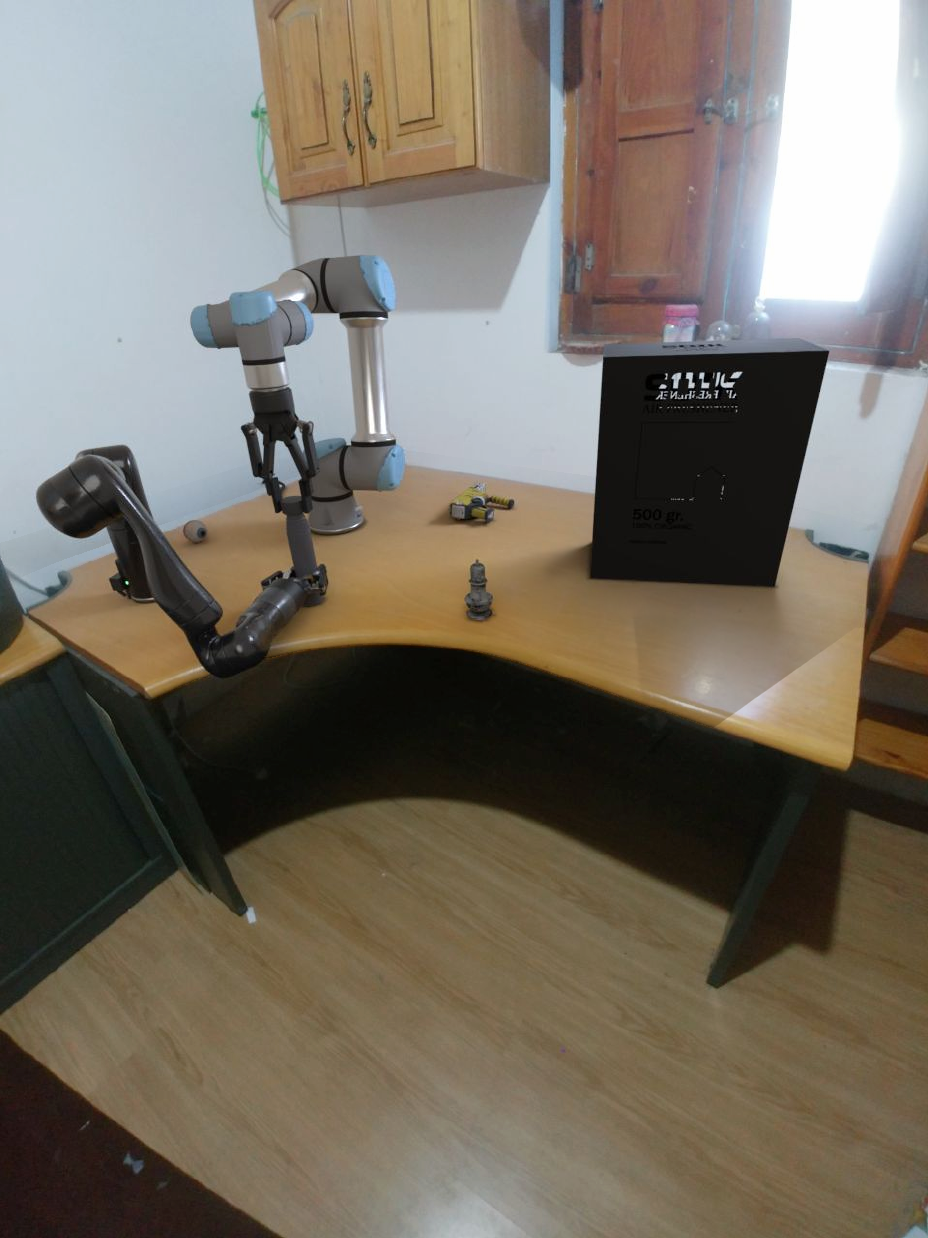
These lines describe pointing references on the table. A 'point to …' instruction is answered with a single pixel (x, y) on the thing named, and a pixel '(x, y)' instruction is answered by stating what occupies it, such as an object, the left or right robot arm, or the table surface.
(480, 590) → the grey chess piece
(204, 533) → the eyeball
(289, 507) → the cap
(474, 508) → the toy gun
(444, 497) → the table surface
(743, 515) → the cardboard box
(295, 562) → the bottle
